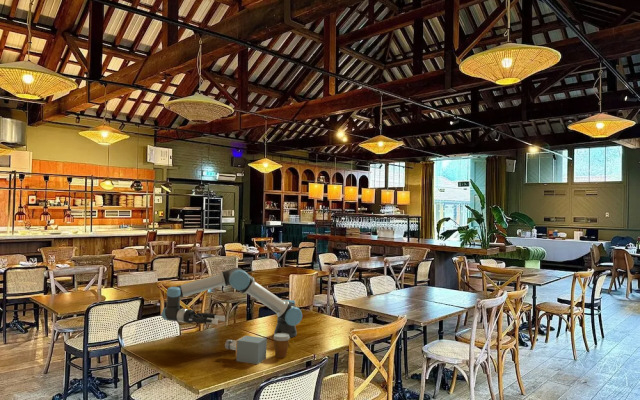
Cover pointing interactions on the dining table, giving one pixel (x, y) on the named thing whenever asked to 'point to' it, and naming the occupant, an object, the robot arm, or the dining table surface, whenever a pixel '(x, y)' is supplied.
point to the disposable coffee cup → (281, 344)
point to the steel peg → (230, 344)
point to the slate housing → (251, 349)
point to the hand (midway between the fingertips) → (221, 320)
